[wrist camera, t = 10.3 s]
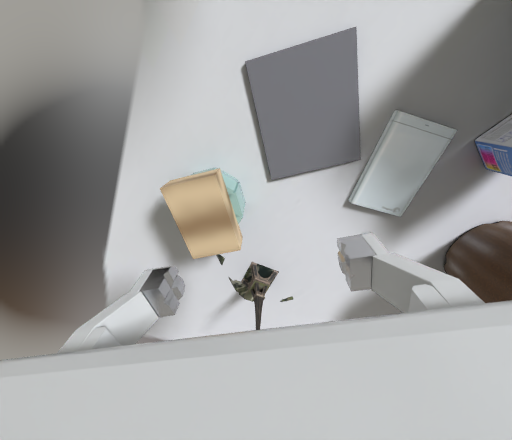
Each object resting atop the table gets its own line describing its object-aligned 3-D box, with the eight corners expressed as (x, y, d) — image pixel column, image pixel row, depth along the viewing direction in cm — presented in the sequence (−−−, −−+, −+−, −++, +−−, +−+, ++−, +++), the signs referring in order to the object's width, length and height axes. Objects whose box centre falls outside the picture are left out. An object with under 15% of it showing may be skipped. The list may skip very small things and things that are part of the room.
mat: (245, 62, 25) (245, 61, 24) (354, 28, 23) (356, 26, 23) (271, 178, 31) (271, 180, 30) (358, 158, 29) (360, 159, 29)
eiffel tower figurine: (214, 250, 38) (191, 315, 26) (269, 233, 36) (271, 296, 24) (246, 308, 44) (239, 381, 32) (294, 296, 42) (306, 370, 30)
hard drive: (401, 217, 32) (460, 130, 26) (350, 203, 31) (399, 110, 26) (395, 213, 34) (450, 129, 28) (346, 199, 33) (392, 110, 27)
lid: (170, 180, 27) (159, 188, 24) (219, 168, 26) (214, 175, 23) (199, 246, 31) (193, 259, 29) (242, 237, 30) (240, 250, 28)
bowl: (175, 177, 31) (162, 187, 27) (233, 163, 30) (229, 171, 26) (197, 229, 35) (189, 244, 31) (249, 218, 34) (248, 233, 30)
